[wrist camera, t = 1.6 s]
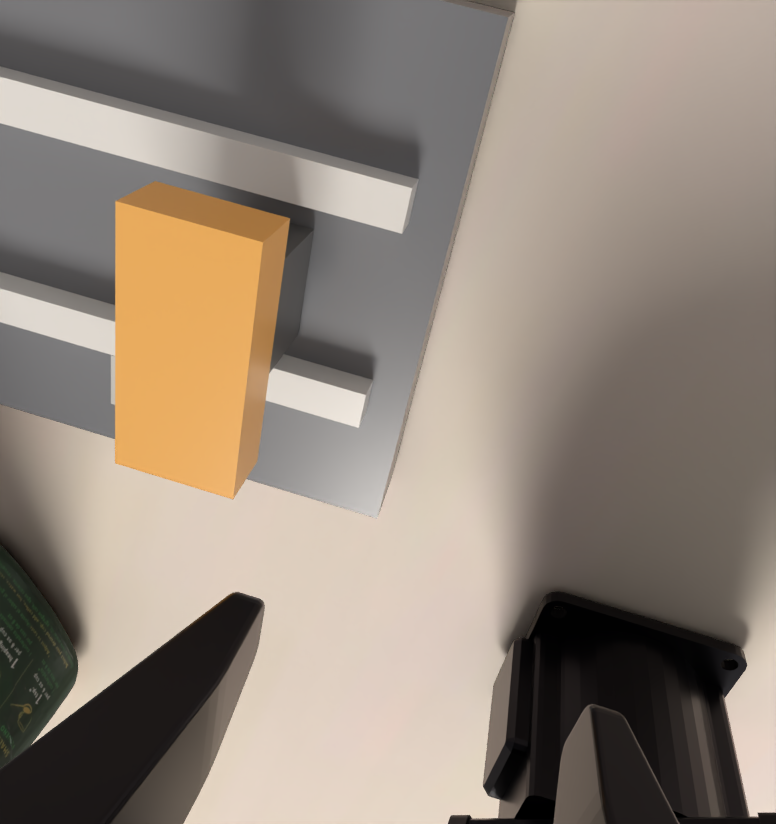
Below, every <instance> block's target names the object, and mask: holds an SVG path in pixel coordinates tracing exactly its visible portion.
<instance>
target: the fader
mask: <svg viewBox="0 0 776 824" xmlns="http://www.w3.org/2000/svg"><path fill="white" fill-rule="evenodd" d="M313 234H314V229H311V228H307V227H304V226H300V225H296V224H293V223H290V218H287V217H283V216H280V215H276V214H272V213H269V212H265V211H262V210H258V209H254V208H251V207H247V206H243V205H240V204H236V203H233V202H229V201H225V200H222V199H218V198H215V197H211V196H207V195H204V194H200V193H197V192H193V191H189V190H186V189H182V188H178V187H175V186H171V185H168V184H164V183H160V182H157V181H154V182H152V183H150V184H148V185H146V186H144V187H142V188H140V189H138V190H136V191H134V192H132V193H130V194H129V195H127V196H125V197H123V198H121V199H119V200H117V201H115V463H116V464H119V465H123V466H126V467H129V468H133V469H136V470H139V471H142V472H146V473H149V474H152V475H155V476H159V477H162V478H165V479H168V480H172V481H175V482H178V483H182V484H185V485H188V486H191V487H195V488H198V489H201V490H204V491H208V492H211V493H214V494H218V495H221V496H224V497H227V498H231V499H234V497H235V496H236V494H237V492H238V491H239V489H240V488H241V486H242V485H243V483H244V481H245V480H246V478H247V477H248V475H249V474H250V472H251V470H252V469H253V467H254V466H255V464H256V463H257V460H258V453H259V445H260V438H261V431H262V423H263V416H264V408H265V401H266V394H267V386H268V379H269V373H270V372H271V371H272V369H273V368H274V367H275V365H276V364H277V363H278V361H279V360H280V359H281V357H282V356H283V354H284V353H285V352H286V350H287V349H288V348H289V346H290V345H291V344H292V342H293V341H294V340H295V338H296V337H297V336H298V331H299V324H300V318H301V311H302V305H303V298H304V292H305V285H306V279H307V272H308V266H309V259H310V253H311V246H312V240H313Z"/></svg>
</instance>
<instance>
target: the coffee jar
mask: <svg viewBox="0 0 776 824" xmlns="http://www.w3.org/2000/svg"><path fill="white" fill-rule="evenodd" d="M77 672H78V660H77V656H76V652H75V650H74V647H73V645H72V643H71V641H70V639H69V637H68V635H67V633H66V631H65V630H64V628H63V626H62V624H61V623H60V621H59V620H58V617H57V616H56V614H55V613H54V611H53V610H52V608H51V607H50V605H49V604H48V602H47V601H46V600H45V598H44V597H43V595H42V594H41V592H40V591H39V590H38V589H37V587H36V586H35V585H34V583H33V582H32V580H31V579H30V578H29V576H28V575H27V574H26V573H25V572H24V570H23V569H22V568H21V567H20V565H19V564H18V563H17V562H16V561H15V560H14V558H13V557H12V556H11V555H10V554H9V553H8V552H7V551H6V550H5V549H4V548H3V547H2V546H1V545H0V768H2V767H3V766H4V765H6V764H7V763H8V762H10V761H11V760H12V759H14V758H15V757H16V756H18V755H19V754H20V753H22V752H23V751H24V750H25V749H27V748H28V747H29V746H30V745H31V744H32V743H33V741H34V740H35V739H36V738H37V736H38V735H39V734H40V732H41V731H42V730H43V728H44V727H45V726H46V724H47V723H48V722H49V720H50V719H51V718H52V716H53V715H54V714H55V712H56V711H57V709H58V708H59V707H60V705H61V704H62V702H63V701H64V700H65V698H66V697H67V695H68V694H69V692H70V691H71V689H72V688H73V686H74V684H75V681H76V677H77Z"/></svg>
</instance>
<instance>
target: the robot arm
mask: <svg viewBox="0 0 776 824" xmlns="http://www.w3.org/2000/svg"><path fill="white" fill-rule="evenodd" d="M556 606H559V607H562V609H556V608H554V607H556ZM264 609H265V605H264V602H263V601H262V600H261V599H259V598H256V597H253V596H249V595H246V594H243V593H240V592H235V593H232V594H230V595H228V596H227V597H226V598H224V599H223V600H222V601H220V602H219V603H218V604H216V605H215V606H214V607H212V608H211V609H210V610H209V611H207V612H206V613H205V614H203V615H202V616H201V617H199V618H198V619H197V620H195V621H194V622H193V623H191V624H190V625H189V626H187V627H186V628H185V629H183V630H182V631H181V632H180V633H178V634H177V635H176V636H174V637H173V638H172V639H170V640H169V641H168V642H166V643H165V644H164V645H162V646H161V647H160V648H158V649H157V650H156V651H155V652H153V653H152V654H151V655H149V656H148V657H147V658H145V659H144V660H143V661H141V662H140V663H139V664H137V665H136V666H135V667H133V668H132V669H131V670H130V671H128V672H127V673H126V674H124V675H123V676H122V677H120V678H119V679H118V680H116V681H115V682H114V683H112V684H111V685H110V686H108V687H107V688H106V689H104V690H103V691H102V692H101V693H99V694H98V695H97V696H95V697H94V698H93V699H91V700H90V701H89V702H87V703H86V704H85V705H83V706H82V707H81V708H79V709H78V710H77V711H76V712H74V713H73V714H72V715H70V716H69V717H68V718H66V719H65V720H64V721H62V722H61V723H60V724H58V725H57V726H56V727H54V728H53V729H52V730H51V731H49V732H48V733H47V734H45V735H44V736H43V737H41V738H40V739H39V740H37V741H36V742H35V743H33V744H32V745H31V746H29V747H28V748H27V749H25V750H24V751H23V752H22V753H20V754H19V755H18V756H16V757H15V758H14V759H12V760H11V761H10V762H8V763H7V764H6V765H4V766H3V767H2V768H0V824H183V823H184V821H185V819H186V817H187V815H188V814H189V812H190V810H191V808H192V806H193V804H194V802H195V800H196V798H197V796H198V795H199V793H200V791H201V789H202V787H203V784H204V782H205V780H206V778H207V776H208V774H209V772H210V770H211V767H212V765H213V763H214V760H215V758H216V756H217V753H218V750H219V748H220V745H221V743H222V740H223V738H224V735H225V733H226V730H227V727H228V725H229V722H230V720H231V717H232V715H233V712H234V710H235V707H236V705H237V702H238V699H239V697H240V694H241V692H242V689H243V687H244V684H245V682H246V679H247V676H248V674H249V671H250V669H251V666H252V664H253V661H254V658H255V655H256V652H257V649H258V645H259V640H260V633H261V627H262V621H263V615H264ZM727 659H733V660H729V661H727ZM746 667H747V663H746V659H745V655H744V651H743V650H742V649H741V648H740V647H738V646H736V645H734V644H731V643H727V642H724V641H721V640H717V639H714V638H711V637H708V636H704V635H701V634H698V633H694V632H691V631H688V630H685V629H681V628H678V627H675V626H672V625H668V624H665V623H662V622H658V621H655V620H652V619H649V618H645V617H642V616H639V615H635V614H632V613H629V612H626V611H622V610H619V609H616V608H613V607H609V606H606V605H603V604H599V603H596V602H593V601H590V600H586V599H583V598H580V597H577V596H573V595H570V594H567V593H563V592H551V593H549V594H547V595H546V596H545V597H544V598H543V601H542V603H541V605H540V607H539V609H538V611H537V614H536V616H535V618H534V620H533V622H532V624H531V626H530V629H529V631H528V633H527V635H526V637H525V638H523V637H519V638H518V639H516V640H514V641H513V643H512V645H511V647H510V650H509V652H508V654H507V656H506V658H505V661H504V663H503V665H502V667H501V669H500V672H499V674H498V676H497V678H496V681H495V683H494V686H493V695H492V704H491V714H490V723H489V733H488V742H487V752H486V761H485V771H484V780H483V787H484V789H485V791H486V793H487V795H488V796H490V797H494V798H497V799H500V804H499V816H498V818H492V819H472V818H471V816H470V815H451V817H450V819H449V822H448V824H776V813H758V816H759V817H750V816H749V811H748V806H747V802H746V797H745V792H744V788H743V783H742V778H741V774H740V769H739V764H738V760H737V755H736V750H735V746H734V741H733V736H732V732H731V727H730V722H729V718H728V713H727V708H726V704H725V699H724V698H725V697H726V695H727V694H728V693H729V691H730V690H731V689H732V687H733V686H734V685H735V683H736V682H737V681H738V679H739V678H740V676H741V675H742V674H743V672H744V671H745V670H746Z"/></svg>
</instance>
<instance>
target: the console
mask: <svg viewBox="0 0 776 824" xmlns="http://www.w3.org/2000/svg"><path fill="white" fill-rule="evenodd" d="M514 14H515V13H514V12H510V11H506V10H502V9H498V8H494V7H490V6H486V5H482V4H478V3H474V2H470V1H466V0H0V404H1V405H4V406H8V407H11V408H14V409H18V410H21V411H24V412H28V413H31V414H34V415H37V416H41V417H44V418H47V419H51V420H54V421H57V422H60V423H64V424H67V425H70V426H74V427H77V428H80V429H84V430H87V431H90V432H93V433H97V434H100V435H103V436H107V437H110V438H113V439H115V201H117V200H119V199H121V198H123V197H125V196H127V195H129V194H130V193H132V192H134V191H136V190H138V189H140V188H142V187H144V186H146V185H148V184H150V183H152V182H154V181H157V182H160V183H164V184H168V185H171V186H175V187H178V188H182V189H186V190H189V191H193V192H197V193H200V194H204V195H207V196H211V197H215V198H218V199H222V200H225V201H229V202H233V203H236V204H240V205H243V206H247V207H251V208H254V209H258V210H262V211H265V212H269V213H272V214H276V215H280V216H283V217H287V218H290V223H293V224H296V225H300V226H304V227H307V228H311V229H314V234H313V240H312V246H311V253H310V259H309V266H308V272H307V279H306V285H305V292H304V298H303V305H302V311H301V318H300V324H299V331H298V336H297V337H296V338H295V340H294V341H293V342H292V344H291V345H290V346H289V348H288V349H287V350H286V352H285V353H284V354H283V356H282V357H281V359H280V360H279V361H278V363H277V364H276V365H275V367H274V368H273V369H272V371H271V372H270V373H269V379H268V386H267V394H266V401H265V408H264V416H263V423H262V431H261V438H260V445H259V453H258V460H257V463H256V464H255V466H254V467H253V469H252V470H251V472H250V474H249V475H248V477H247V478H246V479H248V480H252V481H255V482H258V483H261V484H265V485H268V486H271V487H275V488H278V489H281V490H284V491H288V492H291V493H294V494H298V495H301V496H304V497H308V498H311V499H314V500H317V501H321V502H324V503H327V504H331V505H334V506H337V507H341V508H344V509H347V510H350V511H354V512H357V513H360V514H364V515H367V516H370V517H373V518H378V515H379V512H380V509H381V507H382V504H383V501H384V498H385V495H386V492H387V489H388V487H389V484H390V481H391V478H392V474H393V470H394V467H395V463H396V459H397V455H398V452H399V448H400V444H401V440H402V436H403V433H404V429H405V425H406V421H407V418H408V414H409V410H410V406H411V403H412V399H413V395H414V391H415V387H416V384H417V380H418V376H419V372H420V369H421V365H422V361H423V357H424V353H425V350H426V346H427V342H428V338H429V335H430V331H431V327H432V323H433V320H434V316H435V312H436V308H437V304H438V301H439V297H440V293H441V289H442V286H443V282H444V278H445V274H446V270H447V267H448V263H449V259H450V255H451V252H452V248H453V244H454V240H455V237H456V233H457V229H458V225H459V221H460V218H461V214H462V210H463V206H464V203H465V199H466V195H467V191H468V187H469V184H470V180H471V176H472V172H473V169H474V165H475V161H476V157H477V154H478V150H479V146H480V142H481V138H482V135H483V131H484V127H485V123H486V120H487V116H488V112H489V108H490V104H491V101H492V97H493V93H494V89H495V86H496V82H497V78H498V74H499V71H500V67H501V63H502V59H503V55H504V52H505V48H506V44H507V40H508V37H509V33H510V29H511V25H512V21H513V18H514Z"/></svg>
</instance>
